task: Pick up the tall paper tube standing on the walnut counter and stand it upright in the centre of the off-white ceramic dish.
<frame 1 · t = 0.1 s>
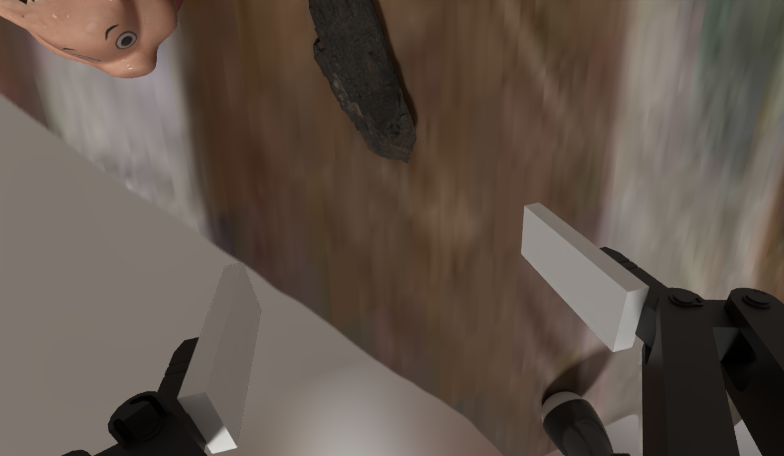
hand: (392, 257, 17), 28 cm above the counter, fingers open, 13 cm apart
pump dispenser: (556, 399, 75), on the counter
wood: (360, 71, 40), on the counter
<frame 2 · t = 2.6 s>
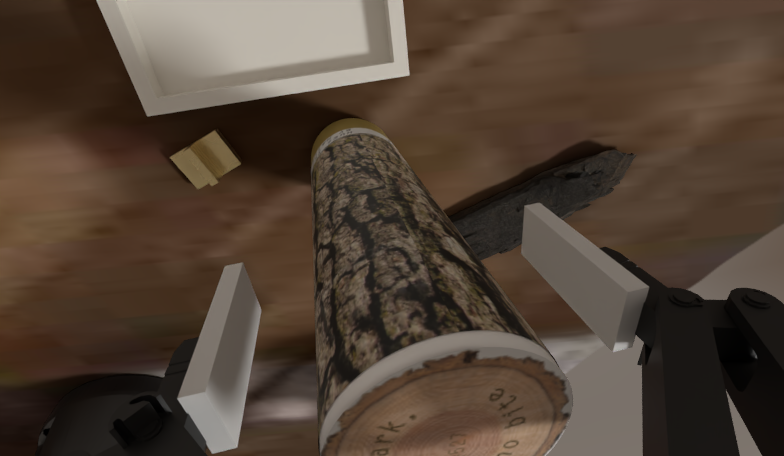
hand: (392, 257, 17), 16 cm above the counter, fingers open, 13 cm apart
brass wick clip: (209, 156, 29), on the counter
paper tube: (351, 156, 31), on the counter
wood: (523, 206, 38), on the counter
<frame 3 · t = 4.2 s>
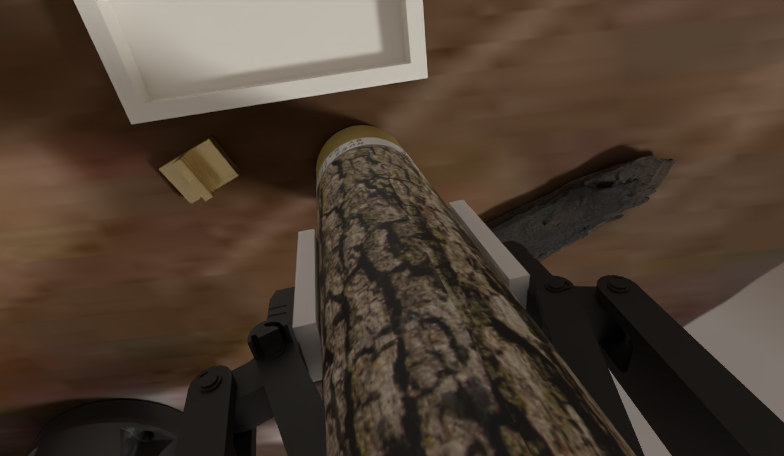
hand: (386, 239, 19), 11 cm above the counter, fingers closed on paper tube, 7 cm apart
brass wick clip: (203, 166, 26), on the counter
paper tube: (360, 166, 28), on the counter, touching gripper
wood: (548, 217, 35), on the counter
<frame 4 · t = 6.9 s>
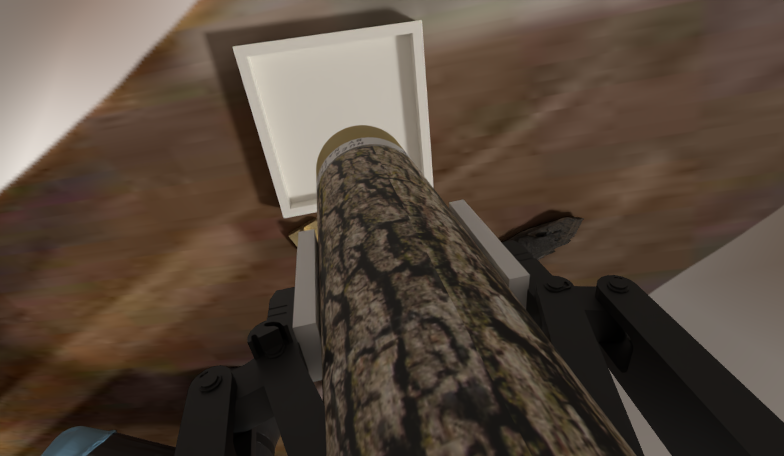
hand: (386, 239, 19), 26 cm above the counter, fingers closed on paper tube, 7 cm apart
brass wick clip: (309, 232, 47), on the counter
paper tube: (360, 166, 28), point 15 cm above the counter, touching gripper
wood: (509, 252, 56), on the counter
ceramic dish: (344, 122, 41), on the counter
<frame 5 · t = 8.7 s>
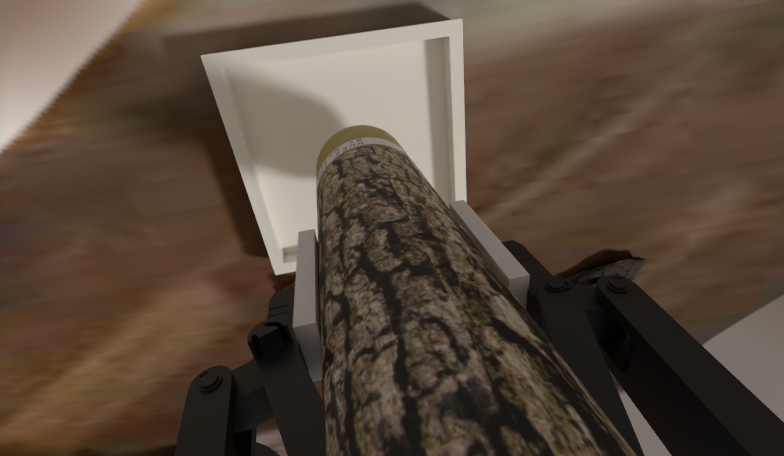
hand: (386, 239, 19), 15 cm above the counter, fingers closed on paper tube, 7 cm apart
paper tube: (360, 166, 28), point 4 cm above the counter, touching gripper
wood: (553, 299, 46), on the counter
ceramic dish: (354, 152, 32), on the counter
when the fingers open (13 cm above the counter, at t = 9.9 s): paper tube drops 1 cm, resting on ceramic dish.
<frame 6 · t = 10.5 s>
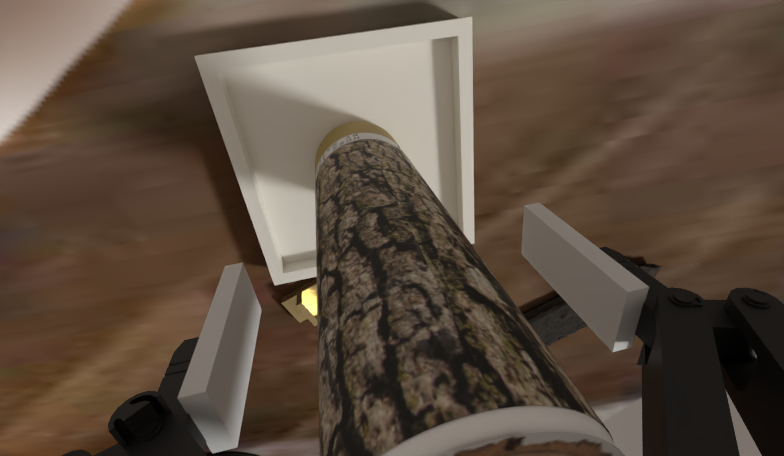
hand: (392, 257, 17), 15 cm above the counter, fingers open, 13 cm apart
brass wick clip: (308, 295, 36), on the counter
paper tube: (357, 161, 30), point 1 cm above the counter, touching ceramic dish
wood: (564, 307, 44), on the counter
ceramic dish: (357, 157, 30), on the counter
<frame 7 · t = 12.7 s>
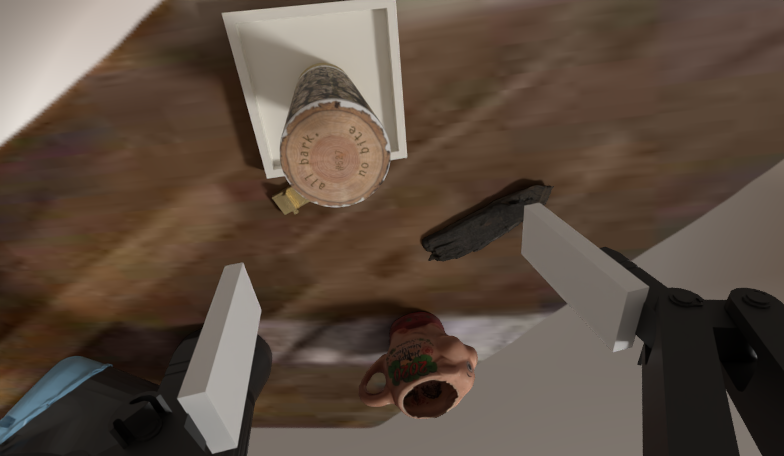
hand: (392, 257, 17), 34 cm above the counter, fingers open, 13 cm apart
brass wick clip: (291, 195, 51), on the counter
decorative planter: (406, 333, 67), on the counter
paper tube: (325, 92, 44), point 1 cm above the counter, touching ceramic dish
wood: (486, 221, 59), on the counter
ceramic dish: (325, 91, 45), on the counter
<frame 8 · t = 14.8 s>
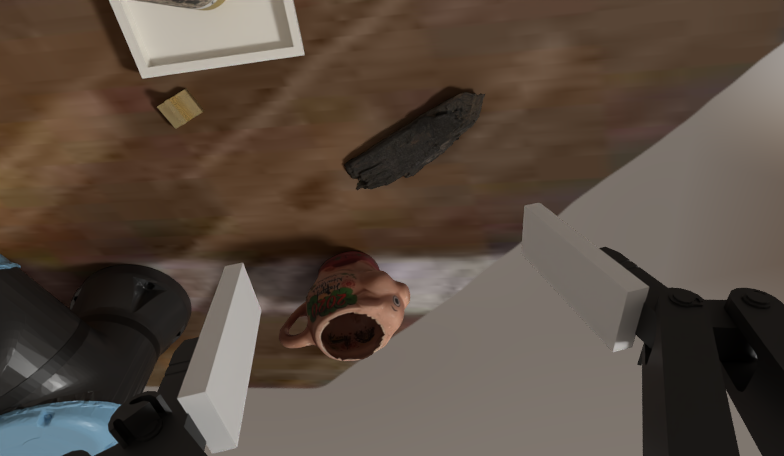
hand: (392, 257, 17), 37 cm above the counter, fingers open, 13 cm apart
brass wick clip: (182, 107, 46), on the counter
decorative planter: (340, 277, 62), on the counter
wood: (416, 142, 54), on the counter
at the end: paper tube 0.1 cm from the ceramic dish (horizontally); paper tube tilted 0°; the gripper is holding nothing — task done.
